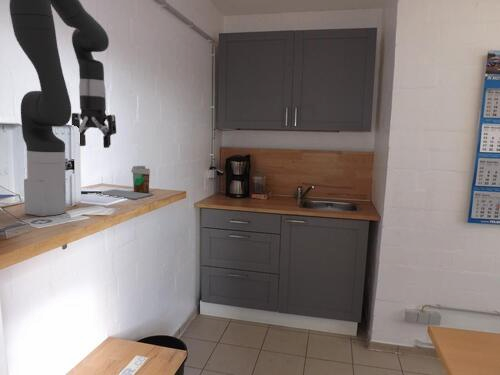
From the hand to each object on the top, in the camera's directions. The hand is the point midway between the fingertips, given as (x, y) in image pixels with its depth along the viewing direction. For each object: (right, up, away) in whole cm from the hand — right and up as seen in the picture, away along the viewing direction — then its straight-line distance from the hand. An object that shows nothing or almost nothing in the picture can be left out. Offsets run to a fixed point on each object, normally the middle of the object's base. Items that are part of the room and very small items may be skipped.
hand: (94, 146), depth 116 cm
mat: (+3, -16, +19) cm, 25 cm away
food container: (+6, -15, +28) cm, 32 cm away
